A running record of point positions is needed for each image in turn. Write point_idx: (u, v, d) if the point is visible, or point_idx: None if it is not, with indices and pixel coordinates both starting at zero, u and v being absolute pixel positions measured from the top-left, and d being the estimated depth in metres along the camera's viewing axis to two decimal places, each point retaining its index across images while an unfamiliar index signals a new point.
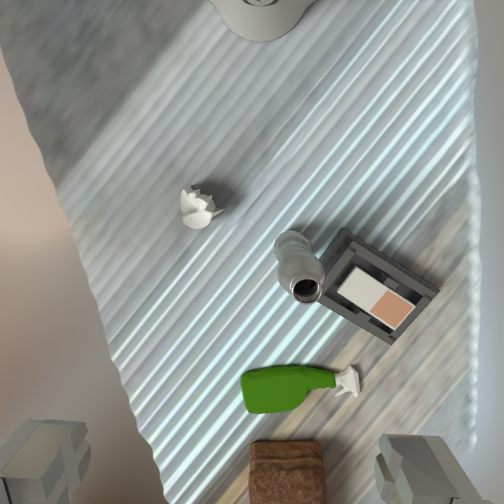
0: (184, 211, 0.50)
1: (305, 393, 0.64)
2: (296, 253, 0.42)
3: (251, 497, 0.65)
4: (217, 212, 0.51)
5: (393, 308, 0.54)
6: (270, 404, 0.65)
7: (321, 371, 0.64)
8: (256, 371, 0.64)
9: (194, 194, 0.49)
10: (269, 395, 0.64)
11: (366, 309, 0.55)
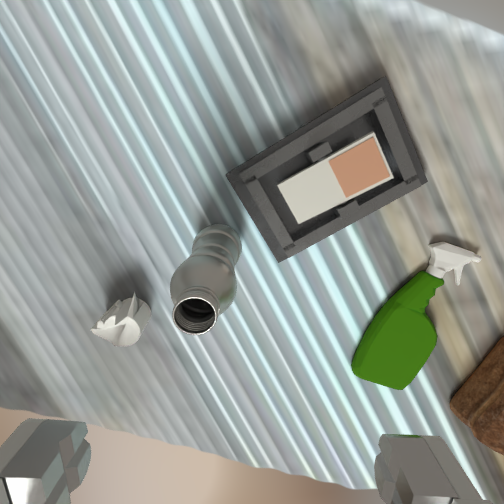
0: (114, 340, 0.43)
1: (424, 319, 0.46)
2: (171, 281, 0.30)
3: None
4: (131, 309, 0.42)
5: (359, 164, 0.35)
6: (408, 363, 0.48)
7: (409, 285, 0.45)
8: (357, 352, 0.49)
9: (100, 322, 0.42)
10: (395, 358, 0.48)
11: (342, 200, 0.37)
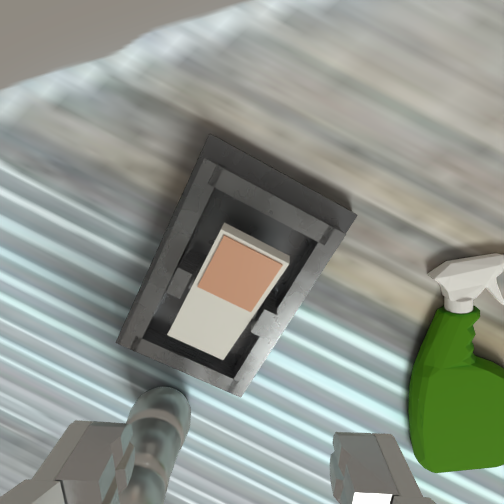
0: None
1: (479, 371, 0.30)
2: None
3: None
4: None
5: (234, 272, 0.23)
6: (491, 432, 0.32)
7: (430, 336, 0.30)
8: (412, 440, 0.35)
9: None
10: (467, 432, 0.32)
11: (249, 315, 0.26)
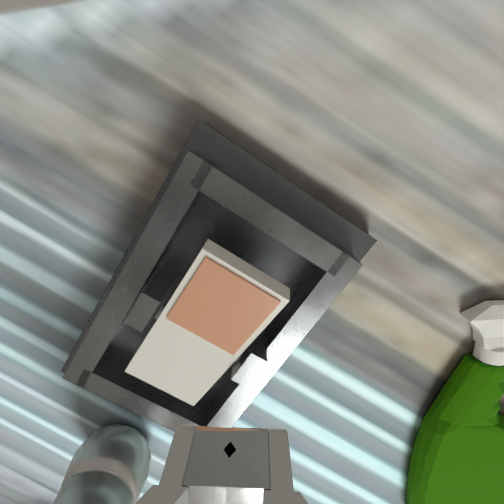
0: None
1: (503, 433, 0.25)
2: None
3: None
4: None
5: (216, 305, 0.18)
6: (502, 502, 0.28)
7: (452, 387, 0.25)
8: (408, 499, 0.30)
9: None
10: (476, 500, 0.28)
11: (231, 357, 0.20)
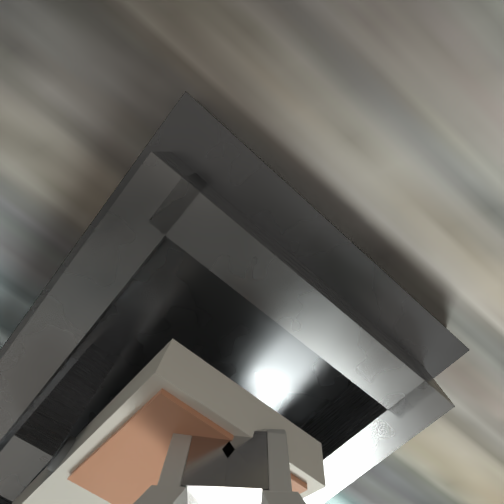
0: None
1: None
2: None
3: None
4: None
5: None
6: None
7: None
8: None
9: None
10: None
11: None
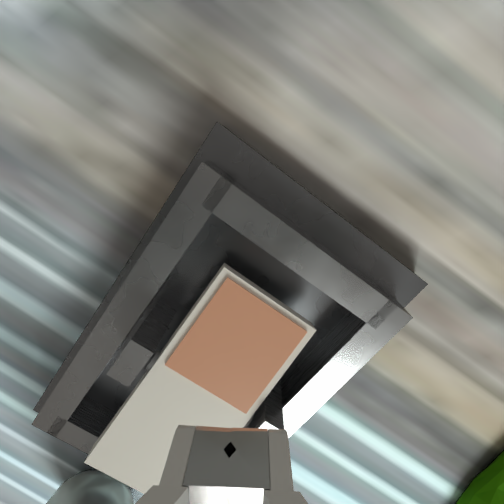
0: None
1: None
2: None
3: None
4: None
5: (232, 340, 0.15)
6: None
7: None
8: None
9: None
10: None
11: (241, 419, 0.16)
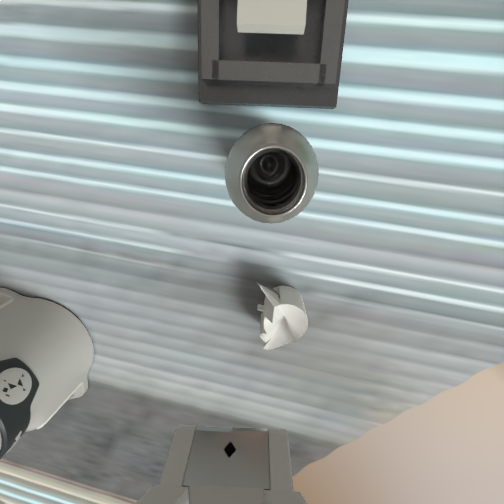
0: (290, 337, 0.36)
1: None
2: (237, 207, 0.22)
3: None
4: (270, 298, 0.35)
5: None
6: None
7: None
8: None
9: (262, 335, 0.36)
10: None
11: None
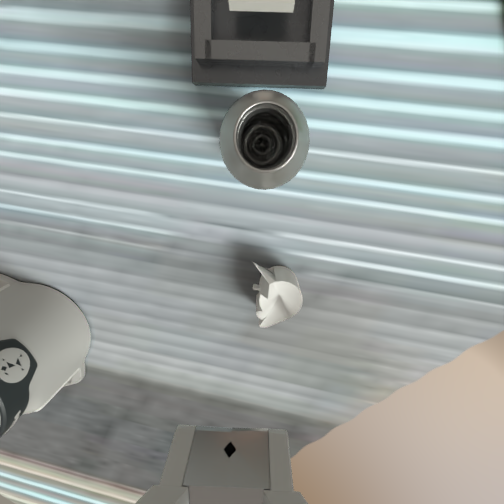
0: (285, 314, 0.37)
1: None
2: (232, 174, 0.22)
3: None
4: (265, 276, 0.36)
5: None
6: None
7: None
8: None
9: (258, 313, 0.37)
10: None
11: None
